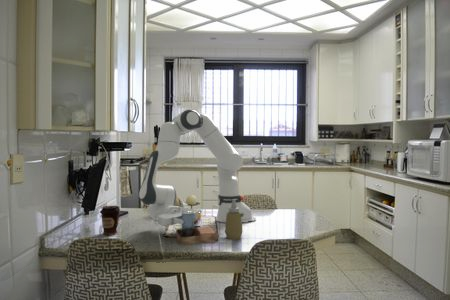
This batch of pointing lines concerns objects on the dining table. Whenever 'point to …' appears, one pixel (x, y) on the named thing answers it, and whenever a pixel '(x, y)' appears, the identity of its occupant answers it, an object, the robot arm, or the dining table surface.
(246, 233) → the dining table surface
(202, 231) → the pasta box
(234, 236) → the squeeze bottle
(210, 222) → the dining table surface
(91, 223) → the dining table surface
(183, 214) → the tin can
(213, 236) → the crate
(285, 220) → the dining table surface
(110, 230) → the coffee cup
